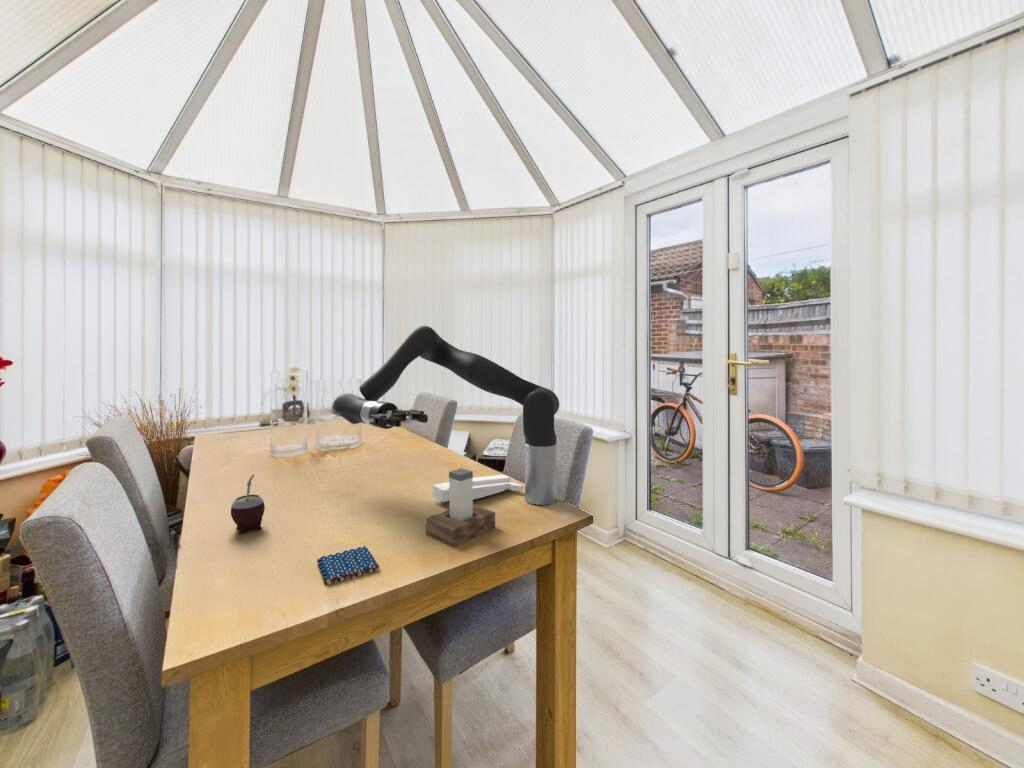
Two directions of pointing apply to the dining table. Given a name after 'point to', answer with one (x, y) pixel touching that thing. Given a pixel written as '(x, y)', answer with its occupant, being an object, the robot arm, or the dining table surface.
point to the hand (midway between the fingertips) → (413, 420)
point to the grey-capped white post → (461, 494)
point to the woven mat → (346, 564)
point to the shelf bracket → (479, 487)
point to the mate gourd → (248, 511)
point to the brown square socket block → (459, 526)
